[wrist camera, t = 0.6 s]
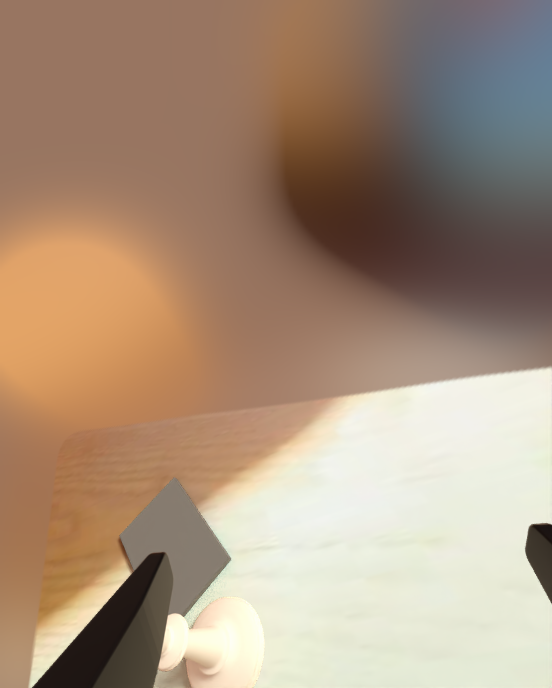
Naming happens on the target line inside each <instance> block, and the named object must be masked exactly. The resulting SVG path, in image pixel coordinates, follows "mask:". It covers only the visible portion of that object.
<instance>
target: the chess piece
mask: <svg viewBox="0 0 552 688" xmlns="http://www.w3.org/2000/svg"><path fill="white" fill-rule="evenodd" d="M263 656H264V635H263V629H262V625H261V622H260V619H259V617H258V615H257V613H256V611H255V610H254V608H253V607H252V606H251V605H250V604H249V603H248V602H246V601H245V600H243V599H241V598H237V597H223V598H219V599H217V600H215V601H213V602H212V603H210V604H209V605H208V606H207V607H206V608H205V609H204V610H203V611H202V612H201V614H200V615H199V616H198V618H197V620H196V622H195V624H194V626H193V628H192V629H188V624H187V622H186V620H185V618H184V617H183V616H182V615H180V614H176V613H174V614H170V615H168V619H167V624H166V630H165V636H164V642H163V647H162V653H161V658H160V662H159V666H158V669H159V670H161V671H169V670H172V669H173V668H175V667H176V666H177V665H178V664H179V663H180V661H181V660H182V658H186V667H187V674H188V678H189V682H190V685H191V687H192V688H253V687H254V685H255V683H256V681H257V679H258V676H259V674H260V670H261V667H262V663H263Z"/></svg>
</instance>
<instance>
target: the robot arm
mask: <svg viewBox="0 0 552 688" xmlns="http://www.w3.org/2000/svg"><path fill="white" fill-rule="evenodd" d="M525 552H526V556H527V559H528V561H529V563H530V565H531V566H532V568H533V570H534V572H535V574H536V576H537V578H538V579H539V581H540V583H541V585H542V587H543V589H544V590H545V592H546V594H547V596H548V598H549V600H550V602H551V603H552V525H551V524H548V523H540V524H532V525H530V527H529V529H528V535H527V541H526V547H525ZM173 582H174V578H173V572H172V568H171V565H170V561H169V557H168V555H167V553H166V552H156V553H151V554H149V555H148V556H147V557H146V558H145V559H144V560H143V561H142V563H141V564H140V565H139V566H138V567H137V568H136V569H135V571H134V572H133V573H132V574H131V575H130V576H129V577H128V579H127V580H126V581H125V582H124V583H123V584H122V586H121V587H120V588H119V589H118V590H117V591H116V592H115V594H114V595H113V596H112V597H111V598H110V599H109V600H108V602H107V603H106V604H105V605H104V606H103V607H102V608H101V610H100V611H99V612H98V613H97V614H96V615H95V616H94V618H93V619H92V620H91V621H90V622H89V623H88V624H87V626H86V627H85V628H84V629H83V630H82V631H81V632H80V634H79V635H78V636H77V637H76V638H75V639H74V640H73V642H72V643H71V644H70V645H69V646H68V647H67V648H66V650H65V651H64V652H63V653H62V654H61V655H60V656H59V658H58V659H57V660H56V661H55V662H54V663H53V664H52V666H51V667H50V668H49V669H48V670H47V671H46V672H45V674H44V675H43V676H42V677H41V678H40V679H39V680H38V682H37V683H36V684H35V685H34V686H33V687H32V688H153V686H154V682H155V678H156V674H157V670H158V666H159V662H160V658H161V653H162V647H163V642H164V636H165V630H166V624H167V619H168V613H169V607H170V601H171V595H172V590H173Z"/></svg>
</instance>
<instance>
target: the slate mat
mask: <svg viewBox="0 0 552 688" xmlns="http://www.w3.org/2000/svg"><path fill="white" fill-rule="evenodd" d="M119 536H120V538H121V541H122V543H123V546H124V548H125V551H126V553H127V555H128V558H129V560H130V563H131V565H132V568H133V570H134V571H135V569H136V568H137V567H138V566H139V565H140V564H141V563H142V561H143V560H144V559H145V558H146V557H147V556H148V555H149V554H151V553H156V552H166V553H167V555H168V557H169V561H170V565H171V568H172V572H173V578H174V582H173V590H172V595H171V601H170V607H169V613H168V615H170V614H174V613H176V614H180V615H182V616H183V617H184V616H185V615H186V614H187V612H188V611H189V610H190V609H191V607H192V606H193V605H194V604H195V603H196V601H197V600H198V599H199V598H200V597H201V595H202V594H203V593H204V592H205V590H206V589H207V588H208V587H209V586H210V584H211V583H212V582H213V581H214V579H215V578H216V577H217V576H218V575H219V573H220V572H221V571H222V570H223V569H224V567H225V566H226V565H227V564H228V562H229V561H230V560H231V558H230V556H229V555H228V553H227V552H226V551H225V549H224V548H223V546H222V545H221V543H220V542H219V540H218V539H217V537H216V536H215V534H214V533H213V531H212V530H211V528H210V527H209V526H208V524H207V523H206V521H205V520H204V518H203V517H202V515H201V514H200V512H199V511H198V509H197V508H196V506H195V505H194V504H193V502H192V501H191V499H190V498H189V496H188V495H187V493H186V492H185V490H184V489H183V487H182V486H181V484H180V483H179V481H178V480H177V479H176V478H173V479H172V480H171V481H170V482H169V483H168V484H167V485H166V486H165V487H164V489H163V490H162V491H161V492H160V493H159V494H158V495H157V496H156V497H155V498H154V499H153V500H152V501H151V502H150V503H149V505H148V506H147V507H146V508H145V509H144V510H143V511H142V512H141V513H140V514H139V515H138V516H137V517H136V518H135V519H134V520H133V522H132V523H131V524H130V525H129V526H128V527H127V528H126V529H125V530H124V531H123V532H122V533H121V534H120V535H119Z"/></svg>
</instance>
